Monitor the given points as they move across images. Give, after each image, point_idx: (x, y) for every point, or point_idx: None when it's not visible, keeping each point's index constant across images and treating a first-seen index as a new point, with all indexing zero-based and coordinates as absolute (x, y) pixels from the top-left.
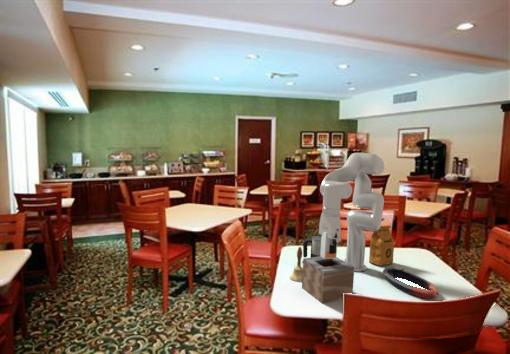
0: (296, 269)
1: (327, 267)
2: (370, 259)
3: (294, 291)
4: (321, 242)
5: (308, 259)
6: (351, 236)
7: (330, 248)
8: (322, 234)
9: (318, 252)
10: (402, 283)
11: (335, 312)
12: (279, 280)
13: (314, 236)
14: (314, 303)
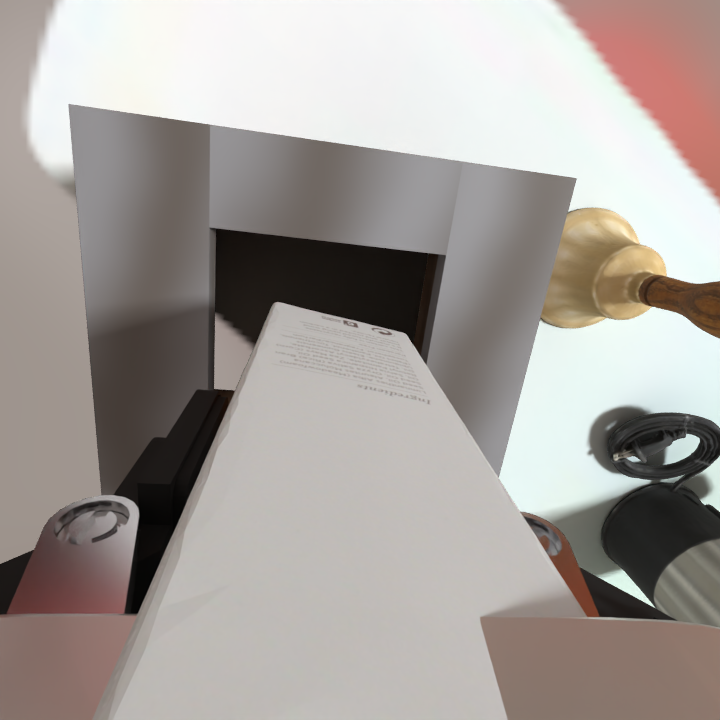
0: (624, 249)
1: (184, 260)
2: None
3: (436, 93)
4: (453, 433)
5: (515, 222)
6: None
7: (166, 442)
8: (530, 648)
9: (703, 570)
10: None
11: (49, 149)
12: (638, 112)
13: None
14: (216, 101)
